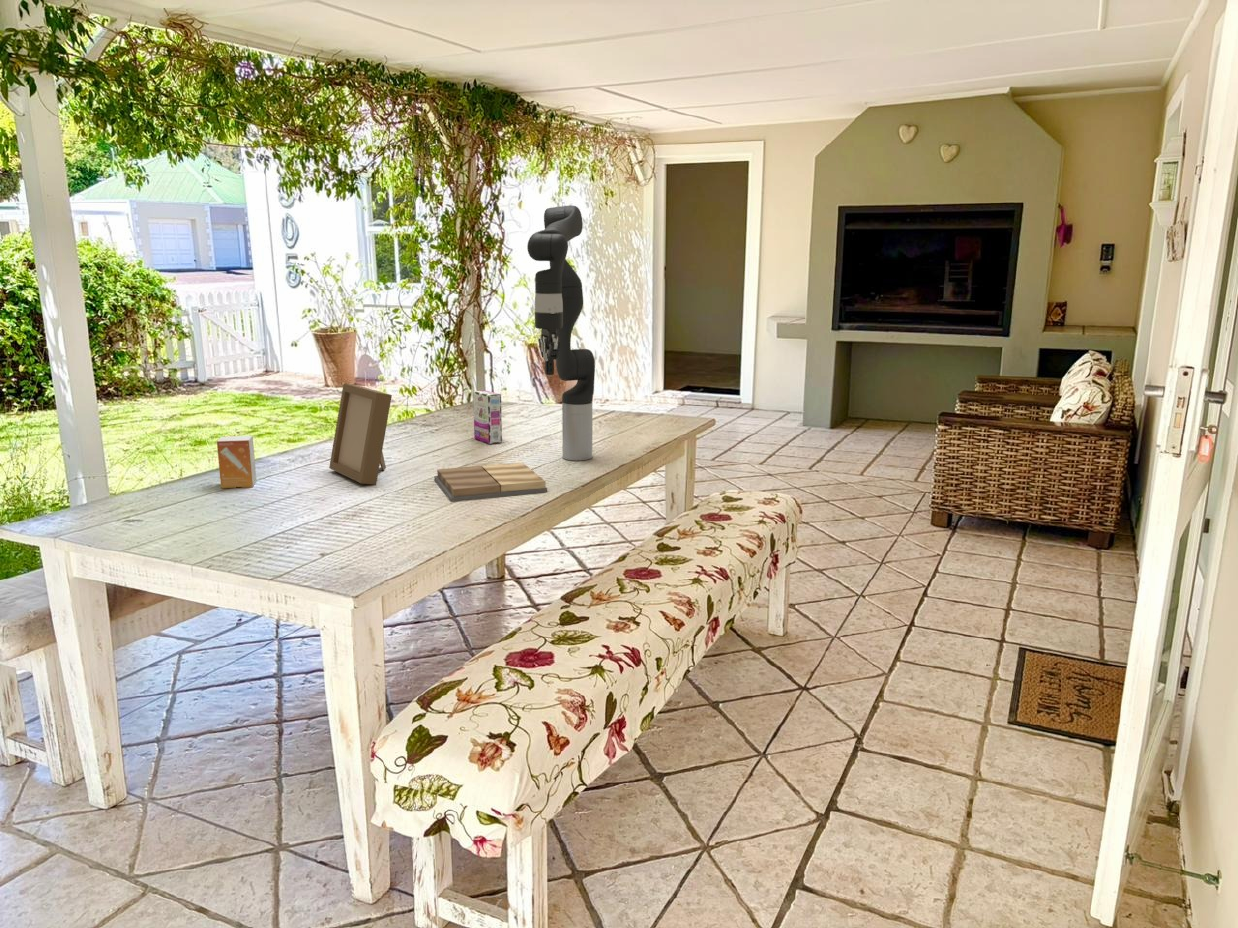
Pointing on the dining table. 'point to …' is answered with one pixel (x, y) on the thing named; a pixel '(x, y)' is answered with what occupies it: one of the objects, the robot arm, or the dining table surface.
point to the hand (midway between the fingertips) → (549, 374)
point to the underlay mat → (480, 496)
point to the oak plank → (514, 477)
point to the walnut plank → (468, 481)
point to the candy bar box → (487, 417)
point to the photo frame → (360, 433)
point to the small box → (236, 461)
